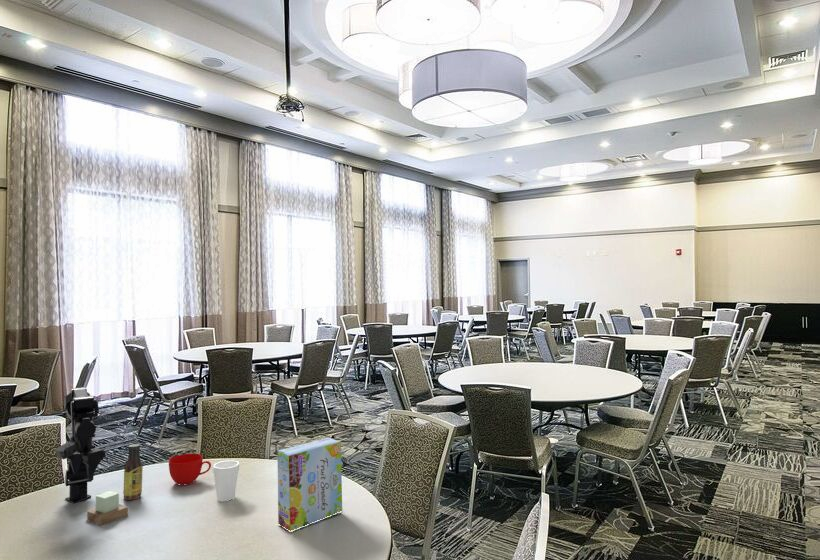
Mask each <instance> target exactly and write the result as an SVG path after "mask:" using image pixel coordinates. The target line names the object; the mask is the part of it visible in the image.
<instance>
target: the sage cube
mask: <svg viewBox="0 0 820 560" xmlns="http://www.w3.org/2000/svg"><path fill="white" fill-rule="evenodd" d="M119 498H120V494H119V493H118V492H116V491H111V490H109V491H105V492H103V493H100V494H97V495H95V508H96V511H100V512H103V513H106V512H109V511H111V510H114V509H116V508H119V504H120V502H119V500H120V499H119Z"/></svg>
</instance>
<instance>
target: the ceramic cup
mask: <svg viewBox="0 0 820 560" xmlns="http://www.w3.org/2000/svg"><path fill="white" fill-rule="evenodd" d="M203 459H204V457H203V455H202V454H200V453H183V454H177V455H175V456H172V457H170V458H169V459H168V470H169V475H170V478H171V479H172V481H173V482H174V483H176V485H177V484H180V485H179V486H181V485H183V486H185V485H184V484H189V485H191V484H190V483H192V484H194V483H195V481H196V480H197V479H198V478H199V476H200V475H201V476H202V475H204V474H206V473H208V472H209V471H210V470H211V468H212V463H211V461H208V460H205V461H203ZM204 464H207V465H208V468H207V469H206V470H205V471H202V468H203V465H204ZM193 482H194V483H193Z"/></svg>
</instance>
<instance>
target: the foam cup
mask: <svg viewBox="0 0 820 560" xmlns="http://www.w3.org/2000/svg"><path fill="white" fill-rule="evenodd" d="M212 468H213V469H212V472H213V476H214V477H213V478H214V483H215V484H214V485H215V491H216V493H215V494H216V499H217V501H218V502H219V501H221V502H220V503H224V502H223V501H228V502H230V501H229V500H231V499H233V498H234V497H235V498H236V491H237V484H238V477H239V476H238V475H239V471H240V462H239V461H237V460H232V459H231V460H230V459H229V460H222V461H218V462H216V463H214V464H213V466H212ZM235 498H234V499H235ZM234 499H233V500H234ZM231 501H232V500H231Z"/></svg>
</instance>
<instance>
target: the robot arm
mask: <svg viewBox="0 0 820 560" xmlns="http://www.w3.org/2000/svg"><path fill="white" fill-rule="evenodd" d="M63 404H64V405H63V406H64V411H66V416H67V417H68V419H69V420H70V422H71V436H70V439H69V441H67V442H65V443H63V444H62V445H60V446H57V448H55V449H54V452H55V455H56V456H57V457H56V458H58V459H61V460H66V459H67V460H68V462H69V463H68V465H67V469H65V476H64V484H65V487H69V496H68V497H65V498H64V500H65V501H67V502H70V503H73V504H75V503H79V502H81V501H84V500H87V499H89V498H91V497H92V495H91V494H88V483H90V482H91V483H92V482H93V481H94V476H95V475H94V474H95V472H96V470H97V468H98V466H99V465H100V463H101V462H102V461H103V460H104V458H106V457H107V456H106V455H107V453H106V451H105V450H104V449H101V448H96V445H94V444H93V438H96V434H95V433H96V430H97V427H96V424H95V423H94V421H93V420H94V418H97V417H98V414H99V413H100V410H99V409H100V407H99V402H98V400H97V399H96V398H95V397H94V396H93V395H91V394H90V393H89V392H88V389H87V387H74V388H71V389H70V393H67V395H66V396H64V403H63Z"/></svg>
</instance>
